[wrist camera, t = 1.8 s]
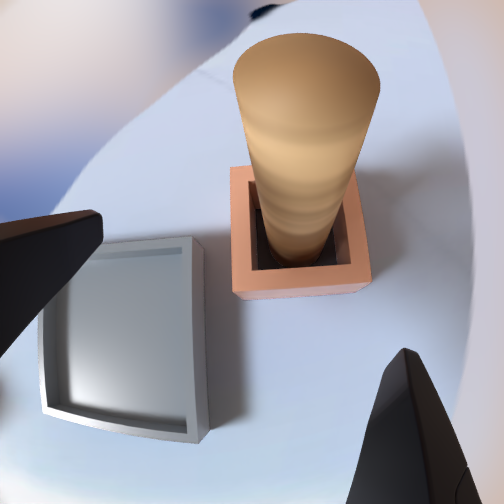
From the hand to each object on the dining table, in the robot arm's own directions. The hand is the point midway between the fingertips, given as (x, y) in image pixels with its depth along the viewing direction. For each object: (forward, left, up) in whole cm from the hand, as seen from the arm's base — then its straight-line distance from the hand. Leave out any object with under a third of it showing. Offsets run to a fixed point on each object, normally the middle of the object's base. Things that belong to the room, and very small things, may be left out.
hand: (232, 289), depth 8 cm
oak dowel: (+5, -2, -11) cm, 13 cm away
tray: (-1, +10, -11) cm, 15 cm away
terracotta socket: (+5, -2, -11) cm, 13 cm away
